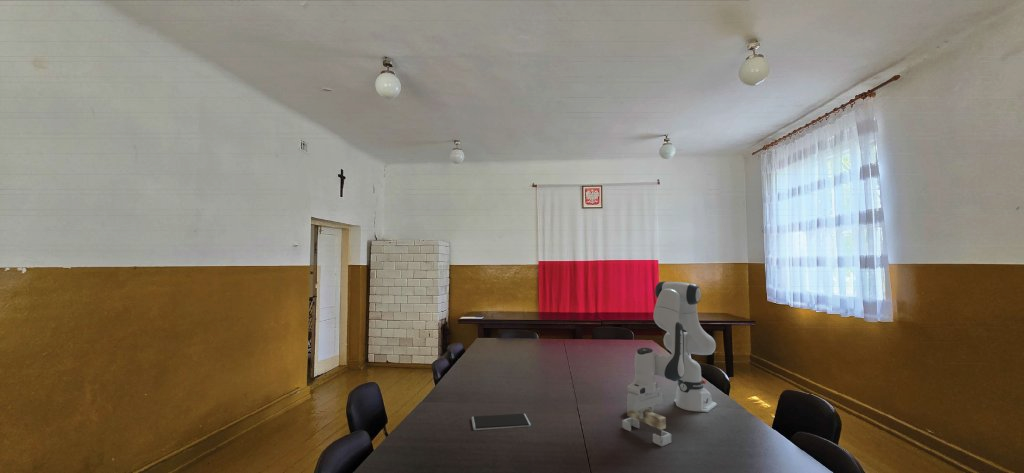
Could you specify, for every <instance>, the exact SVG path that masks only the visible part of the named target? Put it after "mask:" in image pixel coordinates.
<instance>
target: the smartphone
mask: <svg viewBox="0 0 1024 473" xmlns="http://www.w3.org/2000/svg"><path fill="white" fill-rule="evenodd" d="M471 423H472V429H473V431H483V430H484V431H485V430H499V429H512V428H525V427H527V428H528V427H531V424H532V423H531V422H530V420H529V418H528V417H527V414H526V413H512V414H511V413H509V414H495V415H494V414H493V415H491V414H490V415H477V416H476V415H475V416H474V415H473V416H471Z"/></svg>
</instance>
